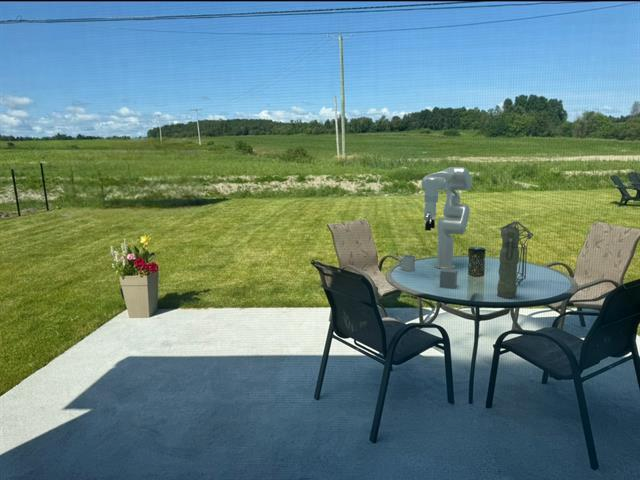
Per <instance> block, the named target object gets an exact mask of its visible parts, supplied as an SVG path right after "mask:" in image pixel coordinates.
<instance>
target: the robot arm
mask: <svg viewBox="0 0 640 480" xmlns="http://www.w3.org/2000/svg"><path fill="white" fill-rule="evenodd" d="M472 186H473V180H472V176H471V175H470V172H469V171H468V169H467V168H466V167H463V166H450V167H447V168H445V169H444V170H442V171H437V172H434V173H429V174H427V175H425V176H424V177H422V180H421V187H422V188H423V189H424V201H423V202H424V203H425V204H424V212H423V219H424V220H425V223H424V226H425V227H424V231H425V232H426V231H432V229H435V227H437V237H438V238H437V253H436V254H437V256H436V257H437V259H436V263H435V264H434V268H436V269H439V270H442V269H443V268H447V269H455V267H456V266H455V265H454V264H453V258H454V257H453V256H454V245H455V244H454V243H455V242H454V240H455V239H454V238H453V235H463V234H464V233H465V232H466V229H467V225H468V221H469V219H470V218H469V217H470V211H471V210H470V209H471V208H470V207H469V205H468V204H466V203H465V204H464V203H461V196H460V195H459V193H458V192H457V191H468V190H471V188H472ZM443 190H445V195H446V200H445V204H444V207H443V212H442V214H443V217H442V218H440V219H438V221H437V224H436V221H435V220H436V215H437V203H438V202H439V191H443ZM435 225H437V226H435ZM452 234H453V235H452Z"/></svg>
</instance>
